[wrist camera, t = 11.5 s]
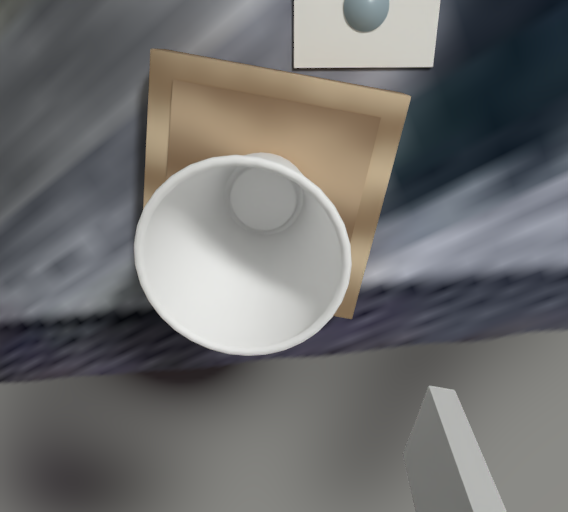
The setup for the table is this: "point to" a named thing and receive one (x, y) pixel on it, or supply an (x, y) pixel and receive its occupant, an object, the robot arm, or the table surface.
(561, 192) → the table surface
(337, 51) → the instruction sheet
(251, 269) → the cup
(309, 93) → the plinth block
